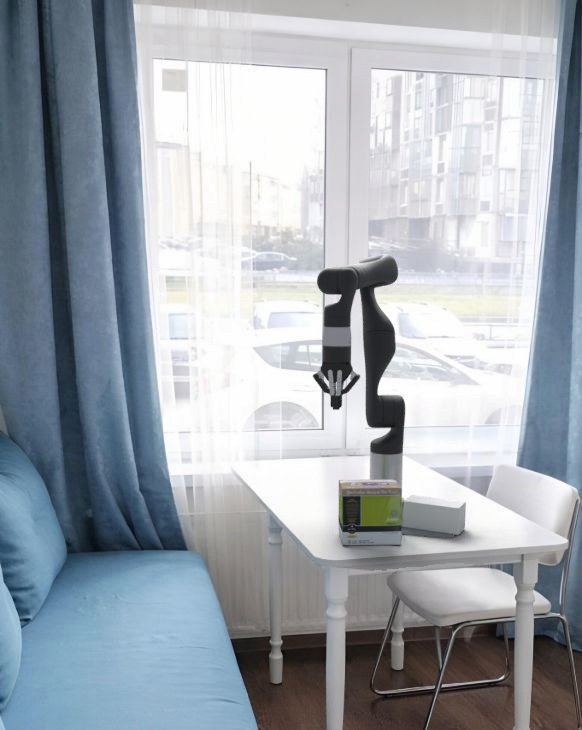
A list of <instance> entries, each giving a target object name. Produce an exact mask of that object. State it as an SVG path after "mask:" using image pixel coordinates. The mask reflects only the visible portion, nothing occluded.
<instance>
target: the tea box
mask: <svg viewBox="0 0 582 730" xmlns="http://www.w3.org/2000/svg"><path fill="white" fill-rule="evenodd" d="M402 496H403V487H402V488H401V487H400V486H399V484H398V483H397V482H396V480H395V479H375V480H370V479H339V480H338V515H337V516H338V534H339V538H340V541H341V544H342V546H383V545H384V546H385V545H387V546H393V545H395V546H396V545H397V546H398V545H399V546H401V545H402V540H403V539H402V537H403V534H402V498H403V497H402Z"/></svg>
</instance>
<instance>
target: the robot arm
mask: <svg viewBox="0 0 582 730" xmlns="http://www.w3.org/2000/svg"><path fill="white" fill-rule="evenodd" d="M398 276H399V268H398V264H397V261H396V259H395V257H394V256H392V255H391V254H388V253H381V254H379V255H373V256H368V257H365V258H362V259H360V260H359V262H358V263H352V264H347V265H345V266H333V267H332V266H331V267H325V268H323V269H321V271H320V272H319V273H318V274H317V279H316V283H317V284H316V285H317V288H318V289H319V291H321V293H323V294H325V295H331V296H332V295H333V296H334V295H338V296H339V295H340V298H339V300H338V301H337V302H335V303H329V304H327V305H325V306H324V309H323V331H322V339H321V341H322V342H321V343H322V360H321V361H322V362H321V363H322V364H321V366H320V369H319V370H318V371H317V372H316V373H314V374H313V375H312V378H313V379H314V380H315V382H316V384H318V386H319V388H320V389H321V390H322V391H323V393H325V394H328V395H330V403H329V404H330V408H332V410H333V411H336V410H337V411H338V410H339V411H340V408H342V406H343V395H345V394H348V393H349V392H350V390H352V389H353V387H354V386H355V385H356V383H357V382H358V381H359V380H360V379H361V374H359V373H356V372H355V371H354V370H353V366H352V332H351V331H352V329H351V320H352V319H351V316H352V307H353V302H354V298H355V296H356V293H357V290H359V294H360V303H361V313H362V314H361V315H362V340H363V341H362V343H363V344H362V345H363V356H364V367H365V368H364V369H365V419H366V420H365V421H366V424H367V426H368V427H369V428H371V429H372V428H373V429H390V430H389V431H388V432H387V433H386V434H384V435H382V436H379V437H378V438H375V439H372V440H371V442H370V445H369V447H370V448H369V449H370V451H369V480H375V479H395V480H396V482H397V483H398V484H399V486H400V487H401V488H402V489H403V464H404V463H403V462H404V461H403V459H404V457H403V455H404V454H403V452H404V439H405V438H404V437H405V436H404V435H405V423H406V422H405V421H406V401H405V399H404V398H403V397H404V396H402V395H397V394H393V395H391V394H387V395H386V394H383V395H381V394H380V395H379V394H378V393H379V392H378V390H379V385H380V382H381V379H382V377H383V375H384V373H385V372H386V370H387V368H388V366H389V365H390V363H391V362H392V359H393V358H394V356H395V354H396V350H397V346H396V345H397V343H396V330H395V327H394V325H393V322H392V321H391V320H390V319H389V317H388V316H387V315H386V313H385V312H384V311H383V310H382V308H381V307H380V305H379V303H378V302H377V298H376V295H375V289H377V288H380V287H381V288H382V287H385V286H389V285H393V284H394V283H395V282H397V279H398V278H399V277H398ZM324 378H325V380H326V381H327V382H328V384H327V383H326V381H324ZM348 378H349V380H350V381H349V383H348V384H347V385H346V386H345V387H344V384H345V382H346V381H347V379H348Z"/></svg>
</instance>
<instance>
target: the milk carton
mask: <svg viewBox="0 0 582 730" xmlns="http://www.w3.org/2000/svg"><path fill="white" fill-rule="evenodd" d="M466 502H467V501H462V500H454V499H453V500H452V499H446V498H439V497H431V496H423V495H416V494H411V495H410V496H408V497H407V498H406V499H405V498H403V497H402V526H403V527H408V528H415V529H422V530H428V531H435V532H442V533H449V534H454V535H455V536H456V535H460V534H461V533H462V532H463V530H464V529H465V528H466V508H467V503H466Z"/></svg>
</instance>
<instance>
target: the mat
mask: <svg viewBox="0 0 582 730" xmlns="http://www.w3.org/2000/svg"><path fill="white" fill-rule="evenodd" d="M403 535H405V536H417V537H426V538H437V539H447V538H449V540H453V539H454V535H455V534H449V533H442V532H435V531H428V530H422V529H415V528H408V527H403V526H402V536H403Z"/></svg>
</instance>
